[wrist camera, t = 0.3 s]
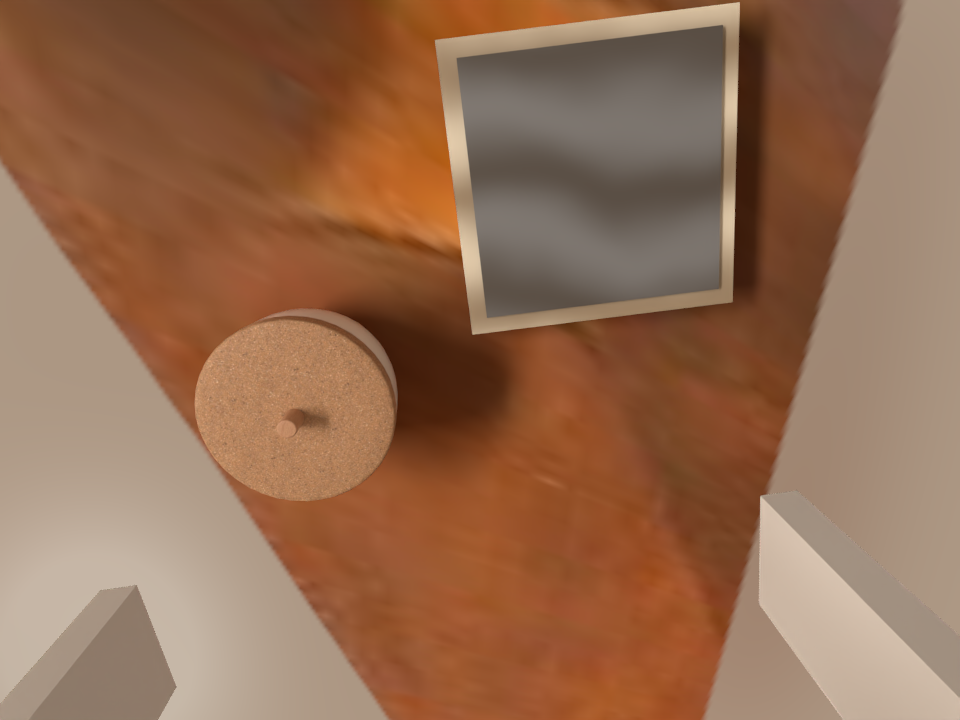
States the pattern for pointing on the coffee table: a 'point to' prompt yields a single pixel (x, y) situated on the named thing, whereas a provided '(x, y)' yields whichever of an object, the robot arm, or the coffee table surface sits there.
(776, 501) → the robot arm
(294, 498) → the lidded jar
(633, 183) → the stand
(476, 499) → the coffee table surface
